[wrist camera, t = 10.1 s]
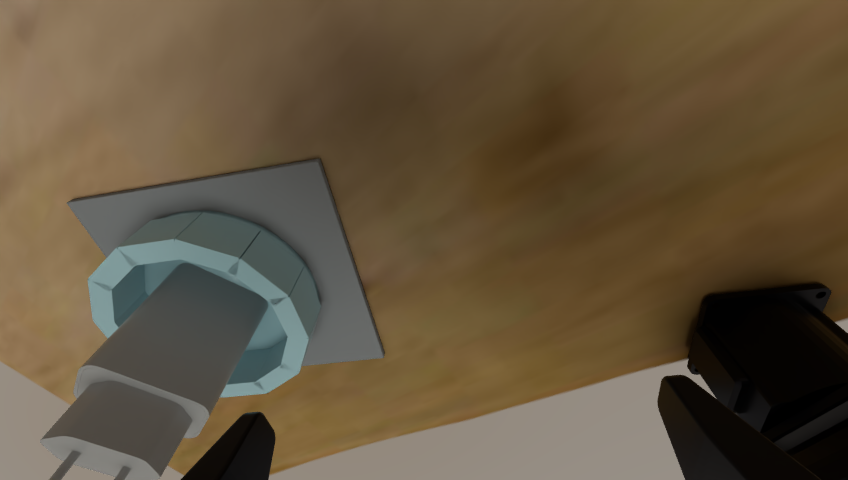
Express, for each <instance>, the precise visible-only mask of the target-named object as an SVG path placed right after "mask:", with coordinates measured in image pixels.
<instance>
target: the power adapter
mask: <svg viewBox="0 0 848 480" xmlns="http://www.w3.org/2000/svg"><path fill="white" fill-rule="evenodd" d="M267 309H268V302H267V300H266V299H264V298H263V297H262V296H260V295H259V294H257V293H255V292H252V291H250V290H248V289H246V288H244V287H241V286H239V285H237V284H235V283H233V282H231V281H228V280H226V279H224V278H222V277H220V276H217V275H215V274H213V273H211V272H209V271H206V270H204V269H202V268H200V267H198V266H195V265H193V264H190V263H182V264H179V265H178V266H177V267H176V268H175V269H174V270H173V271H172V272H171V273H170V274H169V275H168V276H167V278H166V279H165V280H164V281H163V282H162V283H161V284H160V285H159V286H158V287H157V288H156V289H155V290H154V291H153V292H152V293H151V294H150V295H149V296H148V297H147V298H146V300H145V301H144V302H143V303H142V304H141V305H140V306H139V307H138V308H137V309H136V310H135V311H134V312H133V313H132V314H131V315H130V316H129V317H128V318H127V319H126V320H125V322H124V323H123V324H122V325H121V326H120V327H119V328H118V329H117V330H116V331H115V332H114V333H113V334H112V335H111V336H110V337H109V338H108V339H107V340H106V341H105V342H104V344H103V345H102V346H101V347H100V348H99V349H98V350H97V351H96V352H95V353H94V354H93V355H92V356H91V357H90V358H89V359H88V360H87V361H86V362H85V363H84V365H83V366H82V367H81V368H80V369H79V370H78V374H77V379H76V383H75V387H74V395H75V397H76V398H77V400H76V401H75V402H74V403H73V404H72V405H71V406H70V408H69V409H68V410H67V411H66V412H65V413H64V414H63V415H62V416H61V418H60V419H59V420H58V421H57V422H56V423H55V424H54V425H53V427H52V428H51V429H50V430H49V431H48V432H47V433H46V434H45V436H44V437H43V438H42V439H41V440H40V443H41V444H42V445H43V446H44V447H45V448H47V449H48V450H49V451H50V452H51V453H52V454H53V455H55V456H56V457H57V458H59V459H60V460H63V461H64V462H63V463H62V464H61V465H60V467H59V468H58V469H57V471H56V472H55V473H54V474H53V475H52V477H51V478H50V480H61V479H62V478H63V476H64V475H65V474H66V473H67V471H68V470H69V469H70V468H71V466H72V465H73V464H74V465H77V466H80V467H84V468H87V469H90V470H94V471H97V472H100V473H103V474H107V475H110V476H113V477H116V478H115V479H114V480H157V479H160V477H161V475H162V474H163V472H164V470H165V468H166V467H167V465H168V463H169V461H170V460H171V458H172V456H173V454H174V453H175V451H176V449H177V447H178V446H179V444H180V442H181V440H182V439H183V438H193V437H196V436H198V435H199V433H200V432H201V430H202V428H203V426H204V425H205V423H206V421H207V419H208V418H209V416H210V414H211V412H212V410H213V408H214V407H215V405H216V403H217V401H218V399H219V397H220V395H221V394H222V392H223V390H224V388H225V386H226V384H227V383H228V381H229V379H230V377H231V375H232V373H233V372H234V370H235V368H236V366H237V364H238V362H239V360H240V359H241V357H242V355H243V353H244V351H245V349H246V348H247V346H248V344H249V342H250V340H251V338H252V336H253V335H254V333H255V331H256V329H257V327H258V325H259V324H260V322H261V320H262V318H263V316H264V314H265V313H266V311H267Z"/></svg>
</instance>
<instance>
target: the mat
mask: <svg viewBox="0 0 848 480" xmlns="http://www.w3.org/2000/svg"><path fill="white" fill-rule="evenodd" d="M67 204H68V205H69V207H70V208H71V210H72V211H73V212H74V214H75V215H76V216H77V218H78V219H79V221H80V222H81V223H82V225H83V226H84V227H85V229H86V230H87V232H88V233H89V234H90V236H91V237H92V238H93V240H94V241H95V243H96V244H97V245H98V247H99V248H100V249H101V251H102V252H103V254H104V255H105V256H106V258H107V257H108V256H109V255H110V254H111V253H112V252H113V251H114V250H115V248H116V247H118V246H119V245H120V244H122V243H123V242H124V241H125V240H127V239H128V238H129V237H130V236H132V235H133V234H134V233H135V232H137V231H138V230H139V229H140V228H142V227H143V226H144V225H145V224H147V223H148V222H149V221H151V220H155V219H161V218H163V217H166V216H168V215H171V214H175V213H179V212H184V211H195V210H200V211H214V212H221V213H226V214H230V215H234V216H238V217H241V218H243V219H246V220H249V221H251V222H253V223H256V224H258V225H260V226H262V227H264V228H265V229H267V230H269V231H270V232H272V233H274V234H275V235H277V236H278V237H279V238H281V239H282V240H283V241H285V242H286V243H287V244H288V245H289V246H290V247H291V248H292V249H294V250H295V251H296V252H297V254H298V255H299V256H300V257H301V258H302V259H303V261H304V262H305V263H306V265H307V266H308V268H309V269H310V271H311V273H312V275H313V277H314V279H315V282H316V285H317V288H318V292H319V298H320V305H321V308H320V312H319V315H318V319H317V322H316V326H315V329H314V332H313V336H312V339H311V342H310V345H309V347H308V350H307V353H306V356H305V358H304V361H303V364H302V366H307V365H317V364H327V363H337V362H347V361H357V360H367V359H377V358H384V354H385V353H384V350H383V347H382V344H381V341H380V338H379V335H378V332H377V329H376V326H375V323H374V320H373V317H372V314H371V311H370V308H369V305H368V302H367V299H366V296H365V293H364V289H363V286H362V283H361V280H360V277H359V274H358V271H357V268H356V265H355V262H354V259H353V256H352V253H351V250H350V247H349V244H348V241H347V238H346V235H345V232H344V229H343V226H342V223H341V220H340V217H339V214H338V211H337V208H336V205H335V202H334V199H333V196H332V193H331V190H330V187H329V184H328V181H327V178H326V175H325V172H324V169H323V166H322V163H321V160H320V158H319V159H313V160H307V161H301V162H295V163H289V164H283V165H277V166H271V167H265V168H259V169H253V170H247V171H241V172H235V173H229V174H223V175H217V176H211V177H205V178H199V179H193V180H187V181H181V182H175V183H169V184H163V185H157V186H151V187H145V188H139V189H133V190H127V191H121V192H115V193H109V194H103V195H97V196H91V197H85V198H79V199H73V200H71V201H69V202H67Z"/></svg>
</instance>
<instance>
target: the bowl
mask: <svg viewBox="0 0 848 480" xmlns="http://www.w3.org/2000/svg"><path fill="white" fill-rule="evenodd" d="M182 263H190V264H193V265H195V266H198V267H200V268H202V269H204V270H206V271H209V272H211V273H213V274H215V275H217V276H220V277H222V278H224V279H226V280H228V281H231V282H233V283H235V284H237V285H239V286H241V287H244V288H246V289H248V290H250V291H252V292H255V293H257V294H259V295H260V296H262V297H263V298H264V299H266V300H267V302H268V309H267V311H266V313H265V314H264V316H263V318H262V320H261V322H260V324H259V325H258V327H257V329H256V331H255V333H254V335H253V336H252V338H251V340H250V342H249V344H248V346H247V348H246V349H245V351H244V353H243V355H242V357H241V359H240V360H239V362H238V364H237V366H236V368H235V370H234V372H233V373H232V375H231V377H230V379H229V381H228V383H227V384H226V386H225V388H224V390H223V392H222V394H221V395H220V397H233V396H244V395H255V394H266V393H268V392H270V391H272V390H273V389H275V388H276V387H278V386H279V385H281V384H283V383H284V382H286V381H287V380H289V379H291V378H292V377H294V376H295V375H297V374H298V373H299V372H300V369H301V366H302V364H303V361H304V358H305V356H306V353H307V350H308V347H309V345H310V342H311V339H312V336H313V332H314V329H315V326H316V322H317V319H318V315H319V312H320V308H321V305H320V298H319V292H318V288H317V285H316V282H315V279H314V277H313V275H312V273H311V271H310V269H309V268H308V266H307V265H306V263H305V262H304V261H303V259H302V258H301V257H300V256H299V255H298V254H297V252H296V251H295V250H294V249H292V248H291V247H290V246H289V245H288V244H287V243H286V242H285V241H283V240H282V239H281V238H279V237H278V236H277V235H275V234H274V233H272V232H270V231H269V230H267V229H265V228H264V227H262V226H260V225H258V224H256V223H253V222H251V221H249V220H246V219H243V218H241V217H238V216H234V215H230V214H226V213H221V212H214V211H200V210H195V211H184V212H179V213H175V214H171V215H168V216H166V217H163V218H161V219H155V220H151V221H149V222H148V223H147V224H145V225H144V226H143V227H142V228H140V229H139V230H138V231H137V232H135V233H134V234H133V235H132V236H130V237H129V238H128V239H127V240H125V241H124V242H123V243H122V244H120V245H119V246H118V247H116V248H115V250H114V251H113V252H112V253H111V254H110V255H109V256H108V257H107V258H106V259H105V261H104V262H103V263H102V264H101V265H100V266H99V267H98V268H97V269H96V270H95V272H94V273H93V274H92V275H91V276H90V277H89V278H88V286H89V294H90V302H91V310H92V318H93V320H94V323H95V324H96V325H97V326H98V327H99V329H100V330H101V331H102V332H103V333H104V335H105V336H106V337H107V338H109V337H110V336H111V335H112V334H113V333H114V332H115V331H116V330H117V329H118V328H119V327H120V326H121V325H122V324H123V323H124V322H125V320H126V319H127V318H128V317H129V316H130V315H131V314H132V313H133V312H134V311H135V310H136V309H137V308H138V307H139V306H140V305H141V304H142V303H143V302H144V301H145V300H146V298H147V297H148V296H149V295H150V294H151V293H152V292H153V291H154V290H155V289H156V288H157V287H158V286H159V285H160V284H161V283H162V282H163V281H164V280H165V279H166V278H167V276H168V275H169V274H170V273H171V272H172V271H173V270H174V269H175V268H176V267H177V266H178V265H179V264H182Z"/></svg>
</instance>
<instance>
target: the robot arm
mask: <svg viewBox="0 0 848 480" xmlns="http://www.w3.org/2000/svg"><path fill="white" fill-rule="evenodd" d="M830 294H831V290H830V289H829V288H827V287H826V286H825V285H823V284H811V285H802V286H792V287H783V288H774V289H765V290H756V291H746V292H737V293H728V294H719V295H712V296H709V297H707V298H706V299H705V300H704V301H703V304H702V308H701V312H700V316H699V320H698V324H697V328H696V330H695V332H694V336H693V340H692V345H691V349H690V353H689V360H688V365H687V367H688V369H689V370H690V372H691V373H692V374H696V375H698V374H700V375H701V376H702V378H703V379H704V381H705V382H706V384H707V385H708V386H709V388H710V389H711V391H712V392H713V394H714V395H715V397H716V398H717V399H716V398H714V397H713V396H712V395H710V394H709V393H708V392H707V391H705V390H704V389H702V388H701V387H700V386H699V385H697V384H696V383H695V382H693V381H692V380H691V379H690V378H688V377H686V376H684V375H674V376H665V377H664V378H663V379H662V381H661V386H660V391H659V396H658V408H659V412H660V415H661V417H662V420H663V422H664V425H665V428H666V430H667V433H668V436H669V438H670V441H671V444H672V446H673V449H674V451H675V454H676V457H677V459H678V462H679V464H680V467H681V470H682V473H683V475H684V478H685V480H848V333H846V332H845V331H844V330H843V329H842V328H841V327H839V326H838V325H837V324H836V323H835V322H833V321H832V320H831V319H830V318H829V317H827V316H826V315H825V314H824V313H823V310H824V307H825V305H826V303H827V301H828V299H829V297H830ZM736 414H737V415H736ZM274 445H275V432H274V430H273V428H272V427H271V425H270V424H269V422H268V420H267V419H266V417H265V416H264V414H263V413H261V412H252V413H245V414H243V415H242V416H241V417H240V418H239V419H238V420H237V421H236V422H235V423H234V424H233V425H232V426H231V427H230V428H229V429H228V430H227V431H226V432H225V433H224V434H223V435H222V437H221V438H220V439H219V440H218V441H217V442H216V443H215V444H214V445H213V446H212V447H211V448H210V449H209V450H208V451H207V452H206V453H205V454H204V456H203V457H202V458H201V459H200V460H199V461H198V462H197V463H196V464H195V465H194V466H193V467H192V468H191V469H190V470H189V471H188V472H187V473H186V475H185V476H184V477H183V478H182V479H181V480H268V478H269V473H270V467H271V462H272V456H273V451H274Z"/></svg>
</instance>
